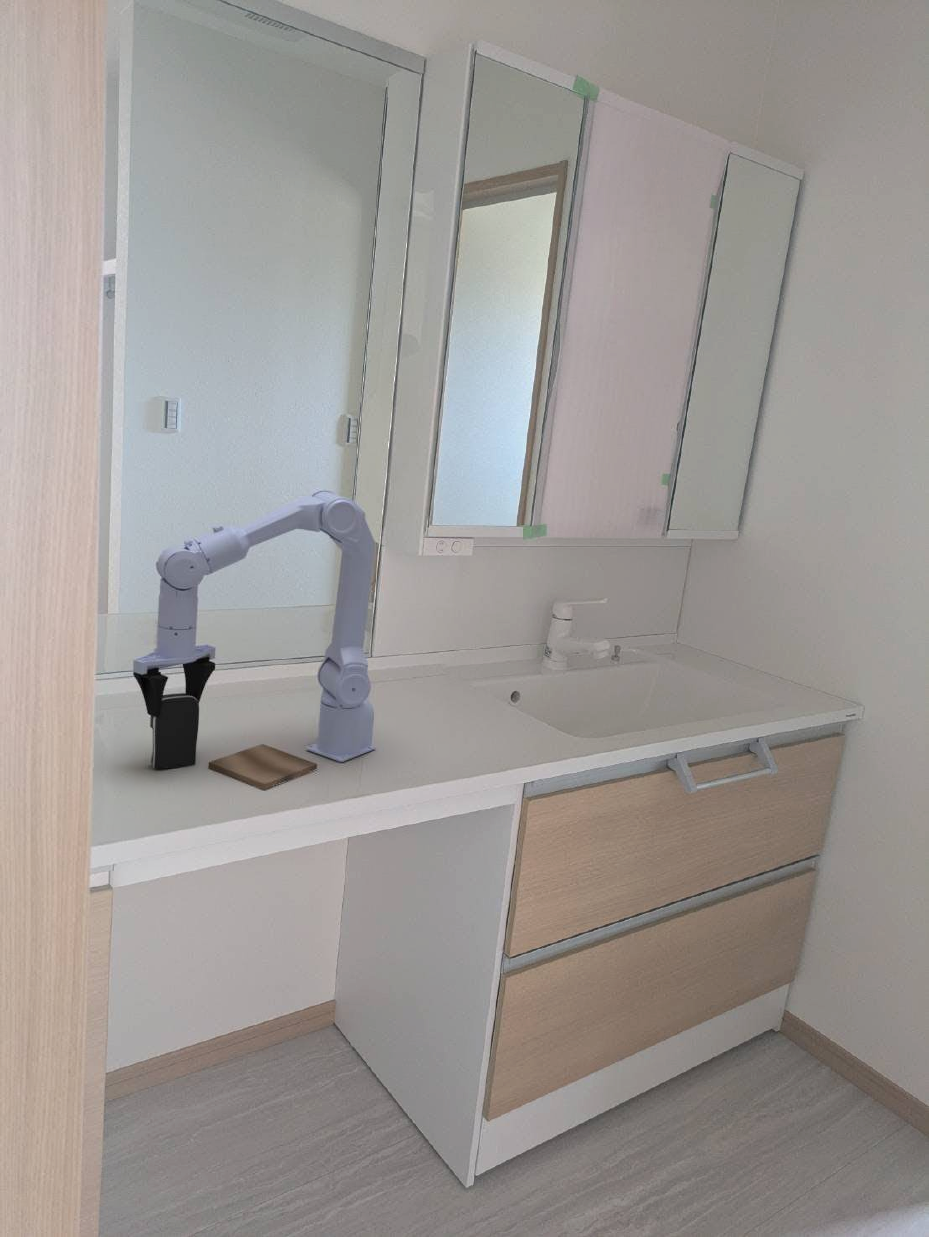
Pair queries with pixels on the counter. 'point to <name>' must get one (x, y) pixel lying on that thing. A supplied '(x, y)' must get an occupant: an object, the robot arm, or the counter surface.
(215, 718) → the counter surface
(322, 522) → the robot arm
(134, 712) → the counter surface
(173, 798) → the counter surface
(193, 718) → the battery charger
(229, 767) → the walnut board
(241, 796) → the counter surface
